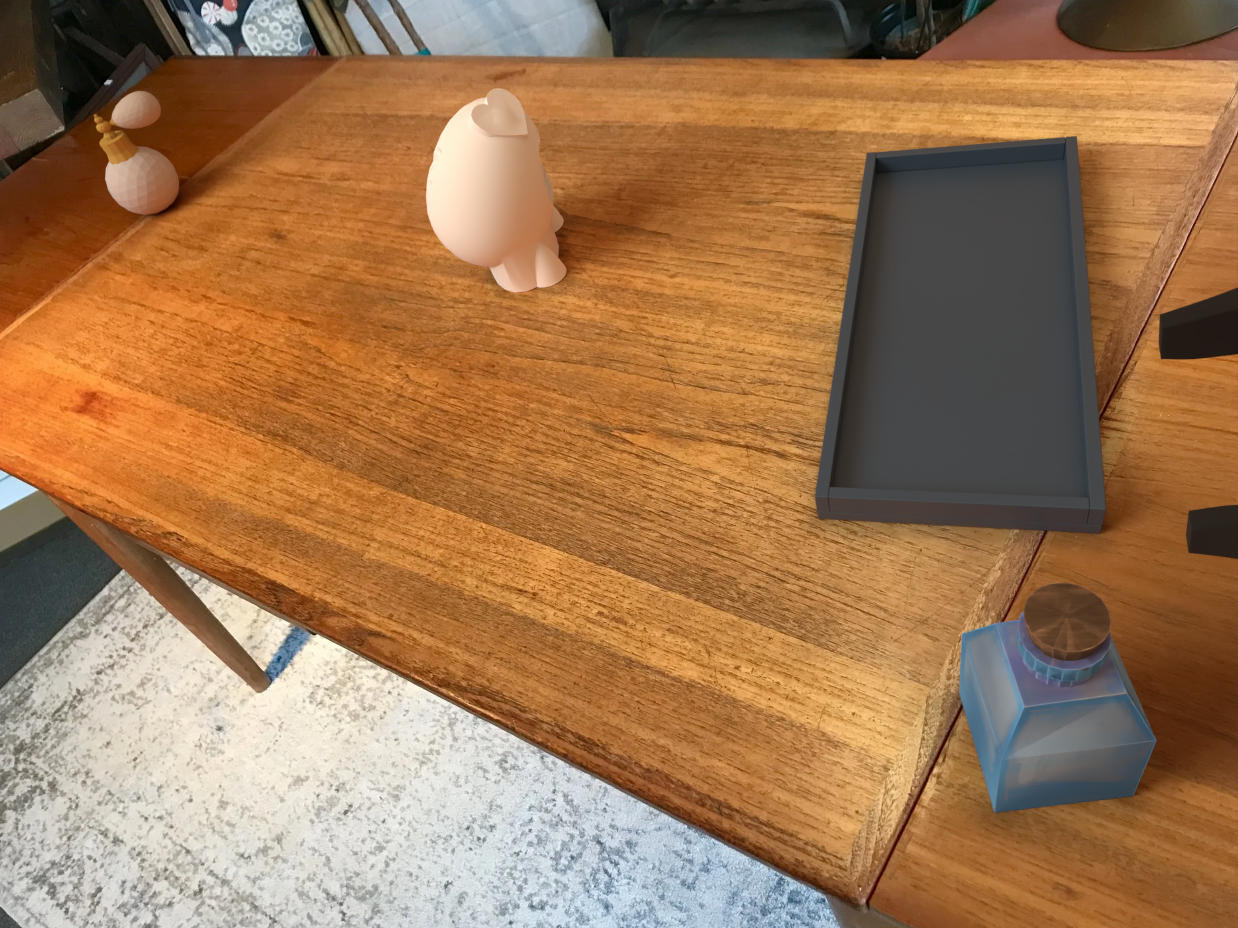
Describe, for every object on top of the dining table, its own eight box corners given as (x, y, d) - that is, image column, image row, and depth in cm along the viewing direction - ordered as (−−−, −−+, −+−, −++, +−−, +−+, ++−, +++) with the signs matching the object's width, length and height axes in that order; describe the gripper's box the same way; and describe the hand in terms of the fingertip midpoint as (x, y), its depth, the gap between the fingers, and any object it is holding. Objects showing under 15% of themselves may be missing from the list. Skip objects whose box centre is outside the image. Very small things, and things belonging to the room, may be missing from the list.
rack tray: (1073, 161, 73) (1076, 135, 71) (1100, 534, 52) (1106, 509, 50) (868, 176, 78) (866, 152, 77) (817, 519, 57) (814, 496, 56)
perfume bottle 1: (119, 218, 109) (48, 126, 100) (185, 171, 113) (121, 78, 104) (151, 231, 105) (79, 136, 96) (217, 182, 109) (154, 86, 100)
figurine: (456, 315, 80) (380, 163, 69) (459, 239, 88) (391, 92, 77) (581, 281, 79) (523, 121, 68) (573, 207, 86) (520, 52, 75)
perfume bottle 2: (1085, 675, 47) (1119, 539, 38) (1133, 796, 43) (1184, 674, 34) (959, 693, 48) (964, 564, 39) (994, 812, 44) (1009, 699, 35)
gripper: (1708, 84, 26) (1150, 189, 32) (1965, 575, 20) (1211, 590, 26) (1607, 244, 32) (1148, 307, 38) (1783, 666, 25) (1197, 661, 31)
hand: (1173, 429), depth 32 cm, fingers open, 7 cm apart
